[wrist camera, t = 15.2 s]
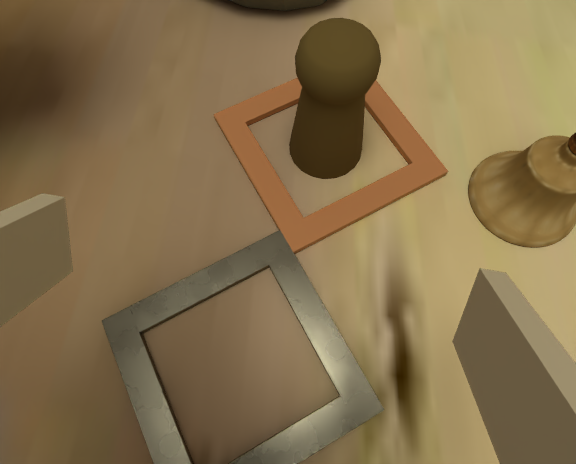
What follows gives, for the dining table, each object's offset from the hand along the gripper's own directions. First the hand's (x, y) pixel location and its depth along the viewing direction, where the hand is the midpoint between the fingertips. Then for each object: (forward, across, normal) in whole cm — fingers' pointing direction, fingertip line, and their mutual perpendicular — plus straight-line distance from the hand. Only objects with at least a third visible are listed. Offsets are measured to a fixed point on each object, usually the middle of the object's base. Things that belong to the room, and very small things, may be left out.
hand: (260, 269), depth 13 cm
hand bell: (+21, +17, -2) cm, 27 cm away
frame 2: (+10, -2, -13) cm, 16 cm away
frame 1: (+22, +1, 0) cm, 22 cm away
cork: (+22, +1, 0) cm, 22 cm away
